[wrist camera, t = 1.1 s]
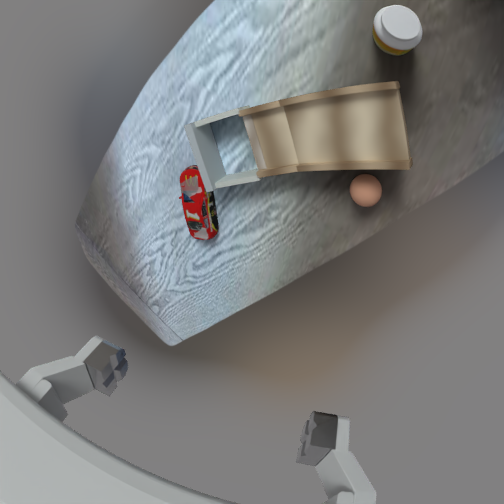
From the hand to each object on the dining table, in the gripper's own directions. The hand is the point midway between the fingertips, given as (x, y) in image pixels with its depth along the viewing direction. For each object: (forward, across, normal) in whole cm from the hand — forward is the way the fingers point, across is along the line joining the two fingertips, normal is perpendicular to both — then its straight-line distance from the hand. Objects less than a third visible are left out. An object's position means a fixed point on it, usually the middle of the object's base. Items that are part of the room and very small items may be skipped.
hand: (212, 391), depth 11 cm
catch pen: (+36, +11, -5) cm, 38 cm away
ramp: (+34, -2, -10) cm, 35 cm away
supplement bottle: (+31, -8, -25) cm, 41 cm away
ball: (+32, -9, -3) cm, 34 cm away
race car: (+39, +16, +6) cm, 42 cm away
